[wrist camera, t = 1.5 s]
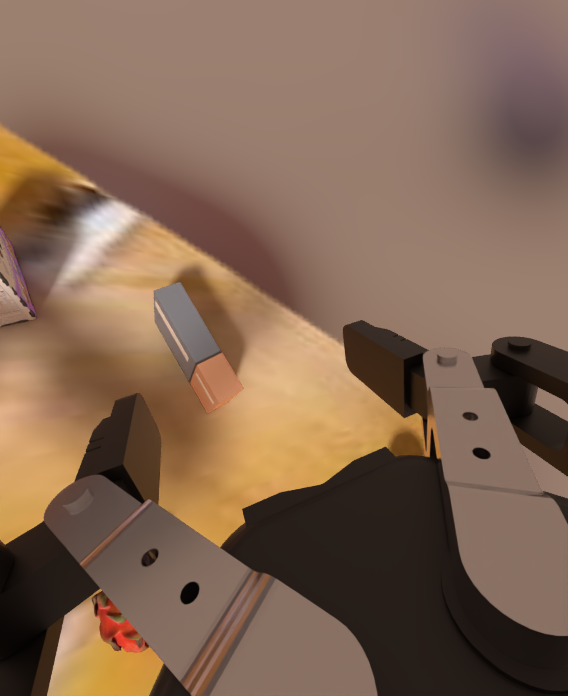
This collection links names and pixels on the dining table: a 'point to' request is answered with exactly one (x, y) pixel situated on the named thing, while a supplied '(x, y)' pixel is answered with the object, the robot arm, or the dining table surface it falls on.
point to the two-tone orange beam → (215, 382)
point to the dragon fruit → (116, 626)
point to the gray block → (183, 328)
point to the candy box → (12, 287)
